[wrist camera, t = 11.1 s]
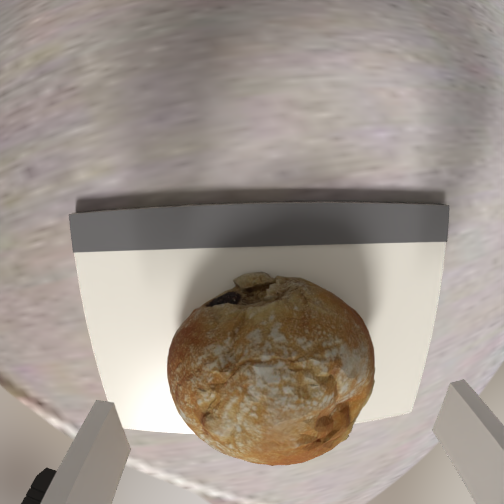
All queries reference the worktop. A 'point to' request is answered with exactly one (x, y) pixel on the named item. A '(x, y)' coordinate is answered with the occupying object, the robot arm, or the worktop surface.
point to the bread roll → (272, 370)
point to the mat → (250, 261)
